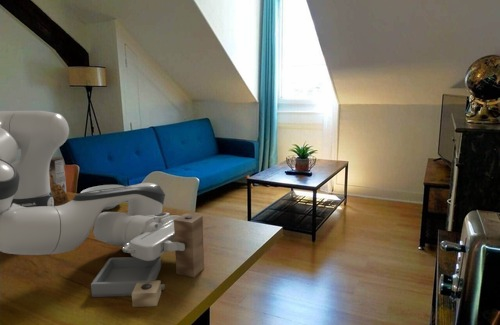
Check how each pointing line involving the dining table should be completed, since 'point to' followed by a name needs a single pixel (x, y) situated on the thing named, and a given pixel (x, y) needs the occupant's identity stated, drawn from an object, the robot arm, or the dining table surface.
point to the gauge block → (147, 293)
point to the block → (189, 244)
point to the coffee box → (57, 172)
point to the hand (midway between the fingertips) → (192, 241)
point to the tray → (124, 276)
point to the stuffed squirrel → (58, 193)
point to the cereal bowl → (104, 188)
